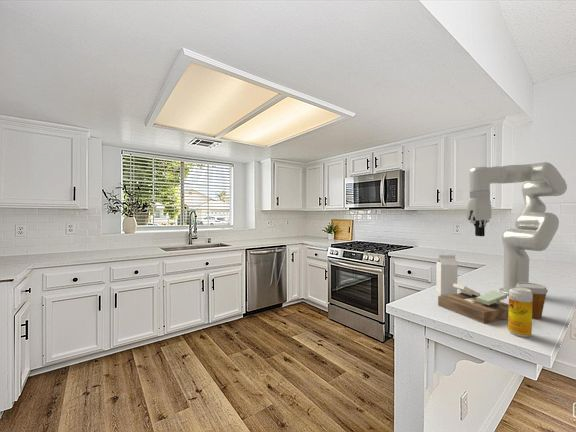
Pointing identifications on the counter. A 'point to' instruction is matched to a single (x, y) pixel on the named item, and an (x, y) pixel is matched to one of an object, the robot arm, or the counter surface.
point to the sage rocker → (491, 297)
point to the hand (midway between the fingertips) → (479, 235)
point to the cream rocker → (466, 290)
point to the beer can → (520, 311)
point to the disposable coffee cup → (536, 297)
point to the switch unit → (474, 307)
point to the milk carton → (446, 275)
